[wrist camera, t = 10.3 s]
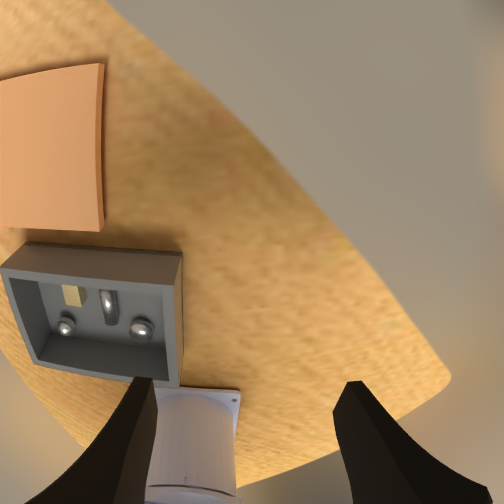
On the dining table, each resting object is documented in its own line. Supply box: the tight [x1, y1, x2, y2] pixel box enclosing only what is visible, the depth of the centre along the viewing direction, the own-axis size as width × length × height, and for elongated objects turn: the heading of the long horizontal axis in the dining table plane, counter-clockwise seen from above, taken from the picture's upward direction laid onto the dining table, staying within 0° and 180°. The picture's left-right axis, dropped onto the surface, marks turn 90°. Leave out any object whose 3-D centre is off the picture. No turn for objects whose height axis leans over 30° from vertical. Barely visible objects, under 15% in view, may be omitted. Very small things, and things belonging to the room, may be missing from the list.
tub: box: [0, 242, 184, 388], centre depth 18 cm, size 8×11×4 cm
